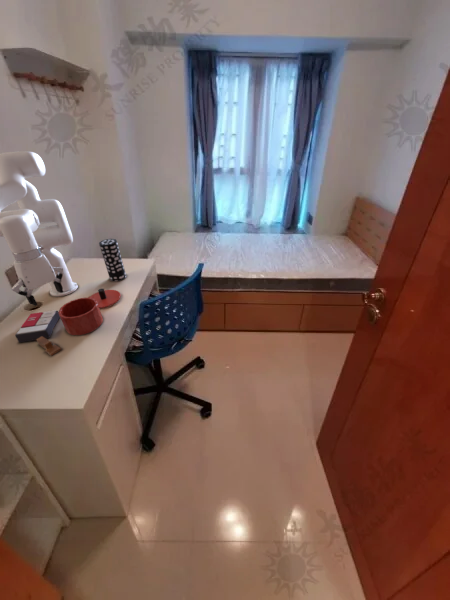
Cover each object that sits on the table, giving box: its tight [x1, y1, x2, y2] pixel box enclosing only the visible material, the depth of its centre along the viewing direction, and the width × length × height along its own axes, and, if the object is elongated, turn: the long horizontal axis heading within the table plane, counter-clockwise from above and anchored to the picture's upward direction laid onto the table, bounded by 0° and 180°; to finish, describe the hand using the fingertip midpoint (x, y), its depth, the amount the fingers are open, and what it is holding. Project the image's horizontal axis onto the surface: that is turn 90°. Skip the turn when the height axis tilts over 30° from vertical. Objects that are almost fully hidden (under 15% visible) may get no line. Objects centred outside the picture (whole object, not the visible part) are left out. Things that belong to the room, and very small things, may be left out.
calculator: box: [14, 309, 61, 343], centre depth 113 cm, size 11×4×15 cm
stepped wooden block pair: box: [35, 336, 62, 357], centre depth 103 cm, size 10×4×3 cm, turn 57°
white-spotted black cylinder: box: [98, 238, 127, 282], centre depth 143 cm, size 8×8×20 cm
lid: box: [88, 288, 122, 309], centre depth 129 cm, size 15×15×6 cm
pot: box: [58, 297, 104, 336], centre depth 113 cm, size 14×14×8 cm
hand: (47, 298), depth 102 cm, fingers open, 9 cm apart
